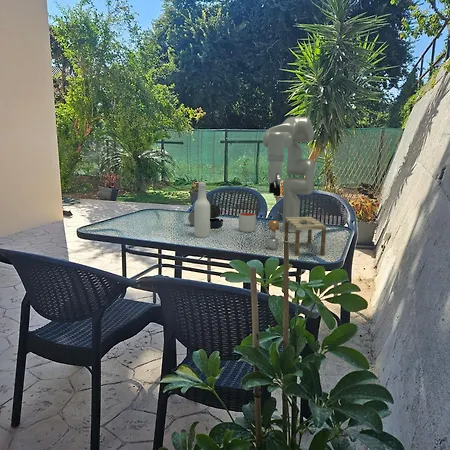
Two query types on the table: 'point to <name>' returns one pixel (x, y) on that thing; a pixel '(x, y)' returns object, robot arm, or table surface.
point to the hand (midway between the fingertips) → (274, 194)
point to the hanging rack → (311, 225)
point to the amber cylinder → (273, 235)
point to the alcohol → (202, 213)
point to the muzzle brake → (214, 213)
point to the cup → (247, 222)
